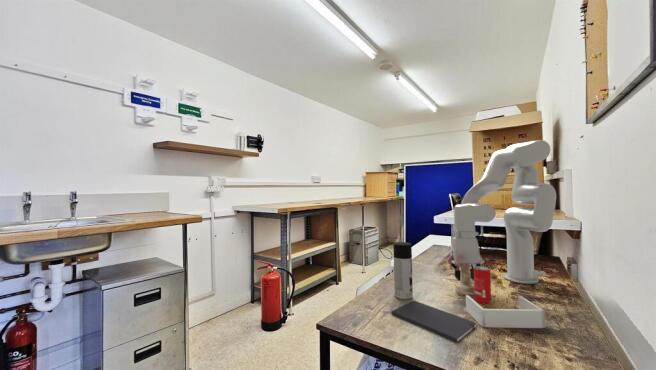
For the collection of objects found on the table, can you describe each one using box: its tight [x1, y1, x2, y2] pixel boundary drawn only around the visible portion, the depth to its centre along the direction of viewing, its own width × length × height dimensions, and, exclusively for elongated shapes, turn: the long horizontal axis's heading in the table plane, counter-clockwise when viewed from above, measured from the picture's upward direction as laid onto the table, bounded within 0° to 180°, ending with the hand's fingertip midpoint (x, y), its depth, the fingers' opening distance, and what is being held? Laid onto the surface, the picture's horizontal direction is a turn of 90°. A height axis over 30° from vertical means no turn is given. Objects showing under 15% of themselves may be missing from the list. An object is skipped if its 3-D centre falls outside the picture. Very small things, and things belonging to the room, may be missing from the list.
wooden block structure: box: [455, 264, 474, 296], centre depth 107 cm, size 12×9×11 cm
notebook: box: [391, 300, 477, 343], centre depth 84 cm, size 13×2×21 cm
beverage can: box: [473, 265, 492, 305], centre depth 96 cm, size 5×5×12 cm
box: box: [465, 295, 546, 329], centre depth 84 cm, size 18×11×5 cm, turn 87°
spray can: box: [393, 241, 414, 301], centre depth 102 cm, size 7×7×20 cm
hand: (465, 279), depth 110 cm, fingers open, 5 cm apart
